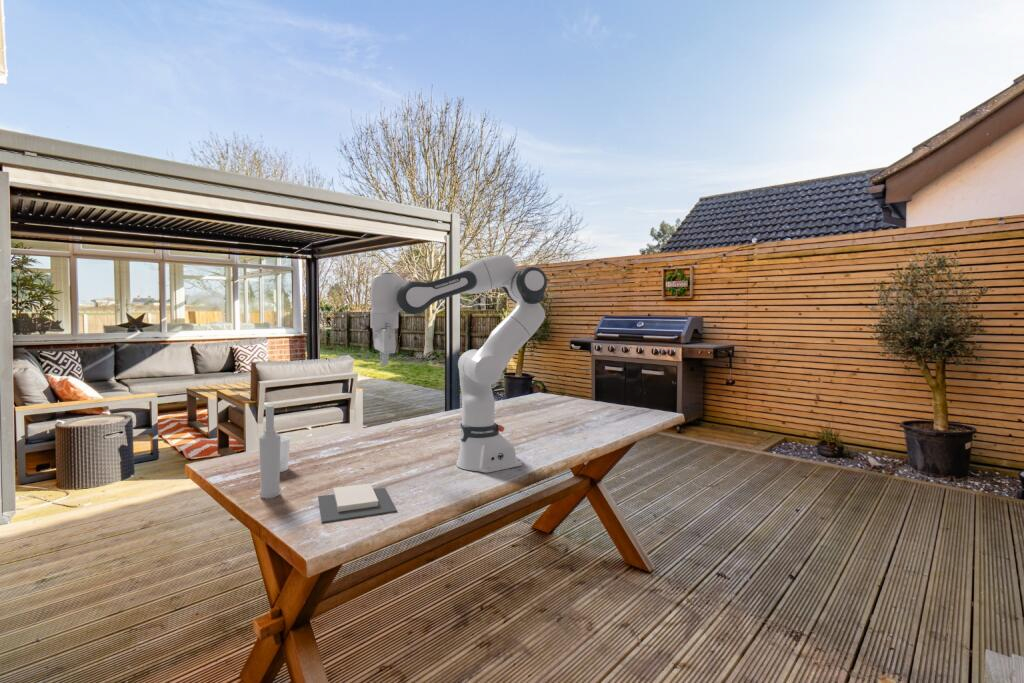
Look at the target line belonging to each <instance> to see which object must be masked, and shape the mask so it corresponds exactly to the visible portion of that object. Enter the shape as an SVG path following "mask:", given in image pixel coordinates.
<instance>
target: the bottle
mask: <svg viewBox="0 0 1024 683" xmlns="http://www.w3.org/2000/svg"><path fill="white" fill-rule="evenodd" d="M274 412H275V406H274V404H273V405H272V404H271V405H270V404H267V405H265V430H264V431H263V433H262V434H261V435H260V436H259V438H258V439H259V442H258V443H259V469H260V470H259V472H260V473H259V474H260V476H259V478H260V480H259V481H260V489H259V496H260V498H261V499H264V498H265V500H267V499H268V498H269V499H273V497H274V498H277V497H279V496H280V495H281V487H280V479H281V477H280V476H281V475H280V474H281V472H280V436H281V435H280V434H279V433H277V432H276V429H275V425H274V424H275V421H274V420H275V413H274ZM278 495H279V496H278ZM276 496H277V497H276Z"/></svg>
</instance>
